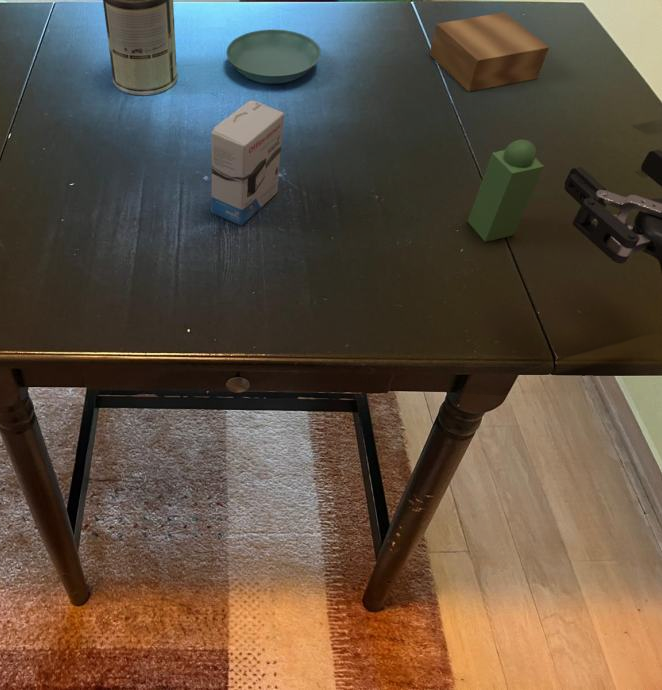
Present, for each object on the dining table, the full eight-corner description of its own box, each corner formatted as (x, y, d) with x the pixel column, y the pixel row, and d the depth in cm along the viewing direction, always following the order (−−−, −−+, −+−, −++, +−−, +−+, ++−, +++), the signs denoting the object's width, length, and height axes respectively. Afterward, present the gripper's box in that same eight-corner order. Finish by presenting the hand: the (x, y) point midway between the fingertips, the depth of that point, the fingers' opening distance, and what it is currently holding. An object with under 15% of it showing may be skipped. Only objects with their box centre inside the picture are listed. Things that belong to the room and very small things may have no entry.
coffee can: (101, 72, 109) (88, -21, 98) (159, 56, 112) (153, -36, 101) (129, 103, 103) (119, 7, 92) (189, 84, 106) (186, -10, 95)
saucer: (292, 37, 115) (293, 21, 113) (336, 79, 106) (338, 62, 104) (211, 55, 112) (211, 39, 110) (250, 100, 103) (250, 83, 101)
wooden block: (494, 42, 113) (503, 12, 109) (537, 78, 106) (549, 47, 102) (428, 54, 111) (436, 23, 107) (468, 92, 104) (478, 60, 100)
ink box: (241, 227, 84) (244, 145, 75) (209, 212, 86) (208, 130, 77) (279, 192, 89) (286, 111, 80) (248, 179, 91) (252, 97, 82)
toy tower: (495, 215, 85) (530, 128, 76) (513, 235, 83) (551, 148, 73) (467, 221, 85) (498, 135, 75) (484, 242, 82) (519, 155, 73)
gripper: (647, 335, 56) (529, 213, 66) (787, 296, 58) (654, 184, 68) (697, 268, 50) (559, 145, 60) (850, 228, 52) (694, 117, 62)
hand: (610, 166), depth 64 cm, fingers open, 8 cm apart
